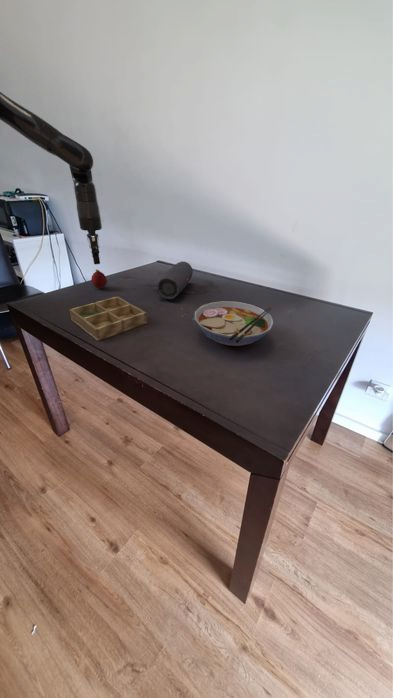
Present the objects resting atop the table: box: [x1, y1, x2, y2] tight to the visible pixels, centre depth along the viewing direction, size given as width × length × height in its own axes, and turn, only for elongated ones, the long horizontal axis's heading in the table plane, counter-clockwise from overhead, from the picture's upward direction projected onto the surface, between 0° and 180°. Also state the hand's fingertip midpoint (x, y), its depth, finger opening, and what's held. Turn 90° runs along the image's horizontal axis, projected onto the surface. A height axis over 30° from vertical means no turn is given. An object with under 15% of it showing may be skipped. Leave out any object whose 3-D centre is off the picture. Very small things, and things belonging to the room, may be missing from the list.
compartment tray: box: [68, 296, 148, 342], centre depth 91 cm, size 17×17×4 cm
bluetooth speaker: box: [156, 261, 194, 300], centre depth 113 cm, size 23×9×10 cm, turn 167°
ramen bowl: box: [194, 300, 274, 347], centre depth 84 cm, size 25×23×8 cm
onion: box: [90, 269, 108, 290], centre depth 114 cm, size 6×6×8 cm
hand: (96, 260), depth 110 cm, fingers open, 8 cm apart
